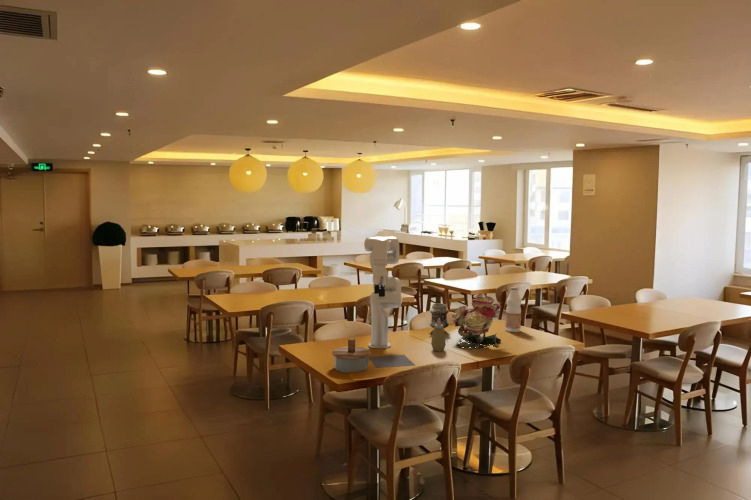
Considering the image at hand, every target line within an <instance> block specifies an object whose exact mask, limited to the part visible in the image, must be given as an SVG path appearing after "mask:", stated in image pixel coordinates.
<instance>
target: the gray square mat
mask: <svg viewBox="0 0 751 500" xmlns="http://www.w3.org/2000/svg"><path fill="white" fill-rule="evenodd" d="M368 360H370V362H371V363H372V364H373V365H374V366H375V368H377V369H379V368H396V367H397V368H398V367H412V366H413V367H414V366H416V364H415V363H414V362H412V360H410V359H409V358H408V357H407V356H406V355H405V354H391V355H390V354H389V355H375V356H374V355H373V356H369V357H368Z"/></svg>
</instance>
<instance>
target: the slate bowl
mask: <svg viewBox="0 0 751 500" xmlns="http://www.w3.org/2000/svg"><path fill="white" fill-rule="evenodd" d="M368 368H369V358H368V357H367V358H363V359H341V358H337V357H334V369H335V371H337V372H340V373H346V374H350V373H357V372H361V371H366V370H367V369H368Z"/></svg>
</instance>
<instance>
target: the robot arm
mask: <svg viewBox="0 0 751 500" xmlns="http://www.w3.org/2000/svg"><path fill="white" fill-rule="evenodd" d="M363 246H364V250H365V251H366V252H370V253H369V263H370V264H369V265H370V268H371V269H372V270H371V271H372V284H373V285H372V286H373V288H372V289H373V292H371V294H370V297H369V301H370V308H371V310H370V311H371V312H370V313H371V318H370V319H371V322H370V324H371V326H370V329H371V334H370V335H371V336H370V337H371V339H370V342H368V347H369V348H372V349H379V350H381V349H388V348H390V347H391V343H390V342H389V315H388V312H387V311H386V310H385V309H399V308H400V307H401V305H402V284H401V280H400V278H398V277H396V276H389V271H388V270H387V269H386V268H387V266H388V265H396V264H398V263H399V260H400V242H399V239H398V238H397V237H396V236H374V237H373V236H372V237H366V238H365V240H364V244H363Z"/></svg>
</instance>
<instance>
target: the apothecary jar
mask: <svg viewBox="0 0 751 500" xmlns="http://www.w3.org/2000/svg"><path fill="white" fill-rule="evenodd" d="M429 312H430V313H431V320H430V321H429V326H430V327H431V328H433V329H434V328H435V324H437V320H438V318H440V321H441V324H442V325H443V329H444V330H445V329H446V328H448V327H449V324H450V323H449V321H448V317H447V316H448V315H447V314H449V312H450V311H449V308H448V307H447V304H445V303H433V304H432V307H430V309H429ZM430 333H431V334H433V330H431V331H430ZM446 334H447V331H446V330H445V335H446Z"/></svg>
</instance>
